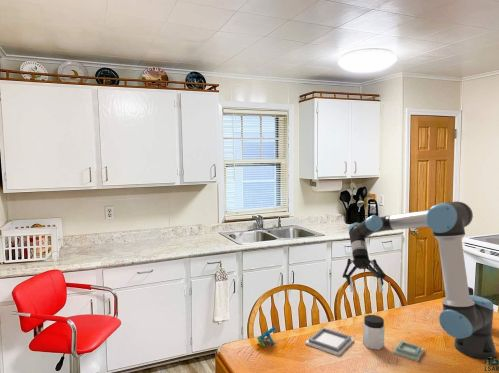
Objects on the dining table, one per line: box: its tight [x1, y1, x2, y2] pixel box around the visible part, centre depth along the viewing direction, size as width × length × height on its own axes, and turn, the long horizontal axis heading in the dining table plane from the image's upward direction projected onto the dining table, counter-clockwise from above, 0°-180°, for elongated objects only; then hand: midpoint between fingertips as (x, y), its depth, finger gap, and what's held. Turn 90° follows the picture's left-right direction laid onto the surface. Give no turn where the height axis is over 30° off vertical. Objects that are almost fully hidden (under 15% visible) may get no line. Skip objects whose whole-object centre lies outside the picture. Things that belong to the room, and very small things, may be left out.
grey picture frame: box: [305, 327, 355, 357], centre depth 162 cm, size 16×16×2 cm
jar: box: [362, 314, 386, 351], centre depth 160 cm, size 9×8×12 cm
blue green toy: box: [256, 326, 278, 348], centre depth 161 cm, size 11×6×10 cm
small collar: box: [392, 340, 425, 362], centre depth 154 cm, size 10×10×2 cm
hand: (366, 291), depth 170 cm, fingers open, 13 cm apart
